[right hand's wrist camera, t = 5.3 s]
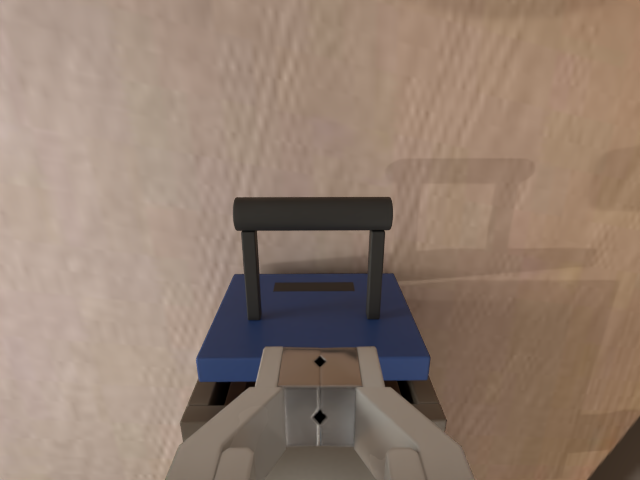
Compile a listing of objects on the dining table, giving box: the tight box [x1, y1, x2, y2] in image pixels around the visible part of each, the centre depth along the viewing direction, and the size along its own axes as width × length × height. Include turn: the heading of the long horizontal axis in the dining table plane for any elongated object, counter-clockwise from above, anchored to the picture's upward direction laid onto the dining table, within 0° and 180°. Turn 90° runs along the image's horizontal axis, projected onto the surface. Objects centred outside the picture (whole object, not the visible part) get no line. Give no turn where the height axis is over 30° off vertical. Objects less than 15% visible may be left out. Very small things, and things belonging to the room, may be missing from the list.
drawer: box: [196, 197, 430, 405], centre depth 21 cm, size 22×10×8 cm, turn 0°
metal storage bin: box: [180, 376, 447, 480], centre depth 23 cm, size 17×11×10 cm, turn 0°
